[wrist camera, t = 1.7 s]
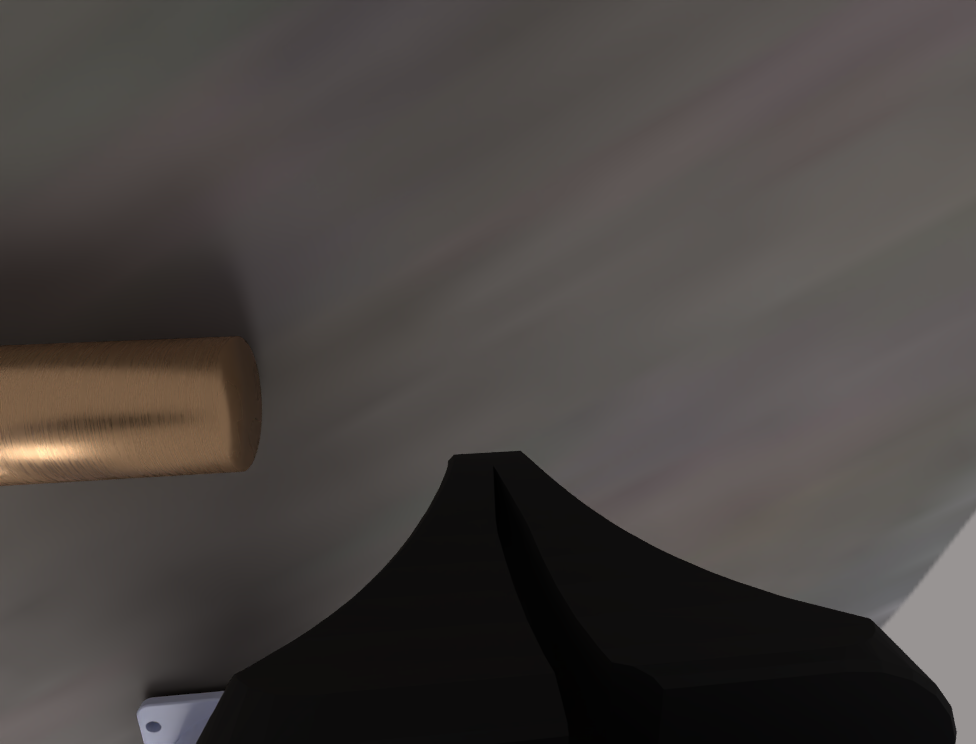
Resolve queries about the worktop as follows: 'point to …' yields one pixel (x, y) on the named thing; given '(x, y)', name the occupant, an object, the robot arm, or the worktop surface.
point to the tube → (127, 409)
